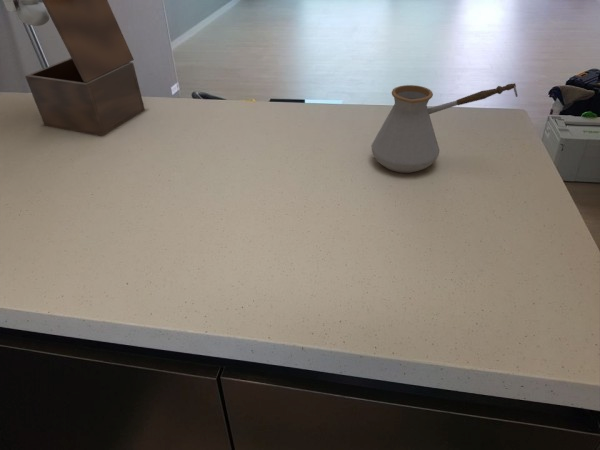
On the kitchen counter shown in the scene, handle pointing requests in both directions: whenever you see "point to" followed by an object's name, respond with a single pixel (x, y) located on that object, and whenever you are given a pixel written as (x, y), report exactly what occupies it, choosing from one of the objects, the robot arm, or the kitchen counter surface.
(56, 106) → the chest
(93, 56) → the lid
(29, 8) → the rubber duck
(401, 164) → the coffee pot
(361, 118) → the kitchen counter surface
